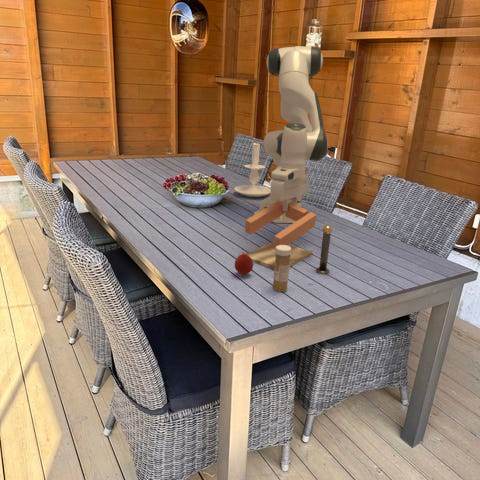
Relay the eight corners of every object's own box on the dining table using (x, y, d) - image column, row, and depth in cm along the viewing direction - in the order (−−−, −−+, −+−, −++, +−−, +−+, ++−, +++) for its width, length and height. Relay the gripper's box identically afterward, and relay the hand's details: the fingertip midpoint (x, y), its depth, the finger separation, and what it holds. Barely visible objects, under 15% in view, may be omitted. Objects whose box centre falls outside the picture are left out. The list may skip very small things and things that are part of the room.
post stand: (313, 271, 151) (318, 225, 145) (319, 267, 154) (325, 222, 149) (325, 275, 148) (330, 228, 143) (331, 271, 152) (337, 225, 146)
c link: (281, 209, 169) (282, 198, 166) (314, 226, 161) (316, 214, 158) (245, 231, 157) (245, 220, 154) (278, 251, 149) (280, 239, 146)
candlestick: (286, 198, 241) (290, 145, 231) (243, 201, 231) (246, 145, 222) (268, 189, 258) (272, 139, 249) (228, 191, 249) (230, 139, 239)
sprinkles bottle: (271, 285, 139) (274, 244, 135) (286, 285, 140) (289, 244, 135) (273, 292, 135) (277, 249, 130) (288, 292, 135) (292, 250, 131)
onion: (251, 272, 148) (253, 249, 145) (252, 279, 143) (254, 255, 140) (233, 271, 148) (234, 248, 145) (234, 279, 142) (235, 255, 140)
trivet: (242, 258, 159) (242, 255, 158) (275, 243, 174) (276, 240, 174) (280, 271, 149) (280, 268, 149) (312, 254, 165) (312, 251, 165)
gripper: (299, 167, 170) (296, 203, 174) (268, 173, 154) (265, 213, 159) (314, 169, 166) (311, 206, 171) (284, 176, 151) (281, 216, 155)
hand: (289, 209), depth 165 cm, fingers closed on c link, 3 cm apart
